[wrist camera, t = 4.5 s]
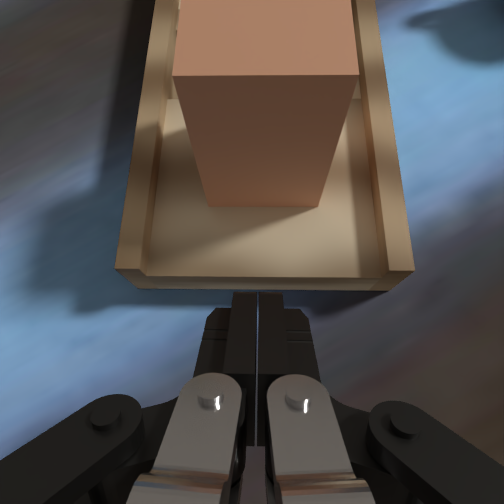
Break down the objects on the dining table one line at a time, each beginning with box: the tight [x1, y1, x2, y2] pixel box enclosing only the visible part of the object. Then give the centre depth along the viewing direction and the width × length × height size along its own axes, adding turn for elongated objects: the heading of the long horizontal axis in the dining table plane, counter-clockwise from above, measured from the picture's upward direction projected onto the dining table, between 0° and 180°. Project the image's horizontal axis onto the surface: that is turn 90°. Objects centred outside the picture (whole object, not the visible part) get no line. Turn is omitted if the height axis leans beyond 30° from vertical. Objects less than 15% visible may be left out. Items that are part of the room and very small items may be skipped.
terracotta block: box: [172, 0, 359, 207], centre depth 17 cm, size 6×6×9 cm
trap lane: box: [114, 0, 415, 291], centre depth 26 cm, size 38×14×5 cm, turn 179°
